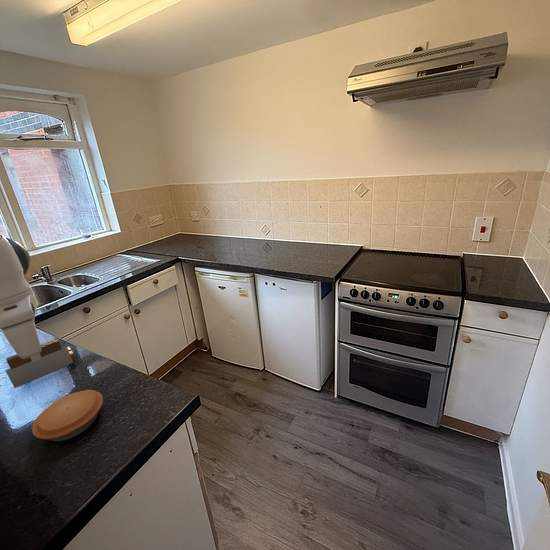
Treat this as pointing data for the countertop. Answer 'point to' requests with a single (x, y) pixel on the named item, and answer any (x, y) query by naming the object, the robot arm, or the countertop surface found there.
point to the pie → (68, 416)
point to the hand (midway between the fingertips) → (36, 356)
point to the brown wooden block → (38, 363)
